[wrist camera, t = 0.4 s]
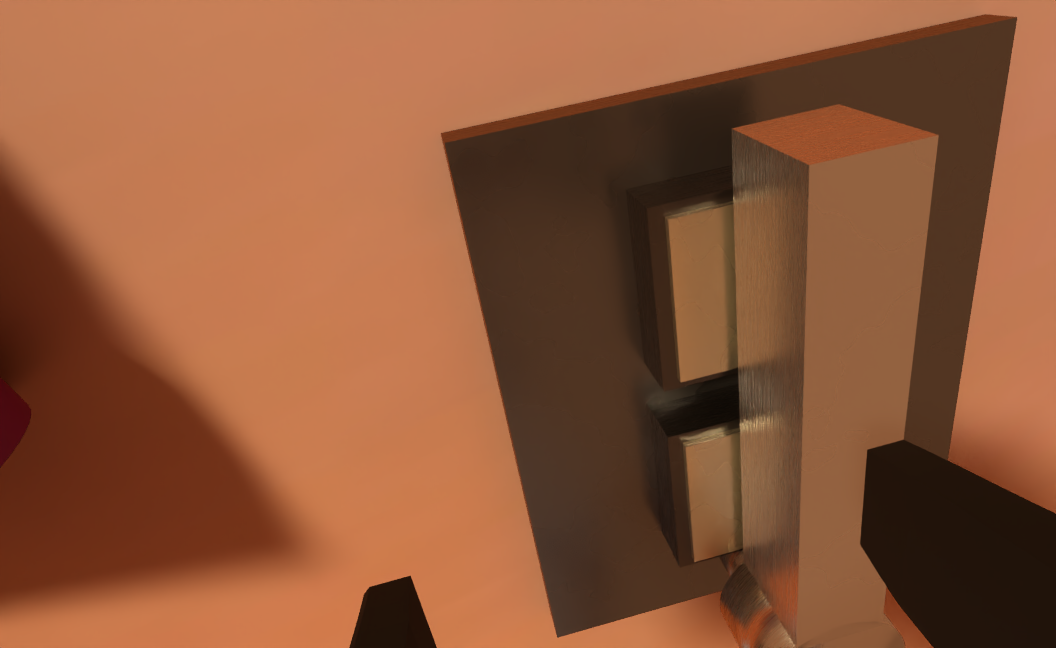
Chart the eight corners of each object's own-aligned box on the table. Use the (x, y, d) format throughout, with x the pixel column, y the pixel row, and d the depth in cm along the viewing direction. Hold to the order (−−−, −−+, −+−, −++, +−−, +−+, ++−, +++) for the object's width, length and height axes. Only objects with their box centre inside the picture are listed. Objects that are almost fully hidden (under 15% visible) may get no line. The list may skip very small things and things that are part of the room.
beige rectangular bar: (838, 612, 23) (898, 697, 20) (722, 646, 22) (768, 737, 20) (873, 96, 15) (980, 125, 12) (695, 136, 14) (764, 175, 12)
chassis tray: (917, 509, 26) (971, 564, 23) (550, 613, 25) (569, 682, 22) (985, 14, 18) (1079, 22, 15) (440, 133, 16) (451, 161, 14)
